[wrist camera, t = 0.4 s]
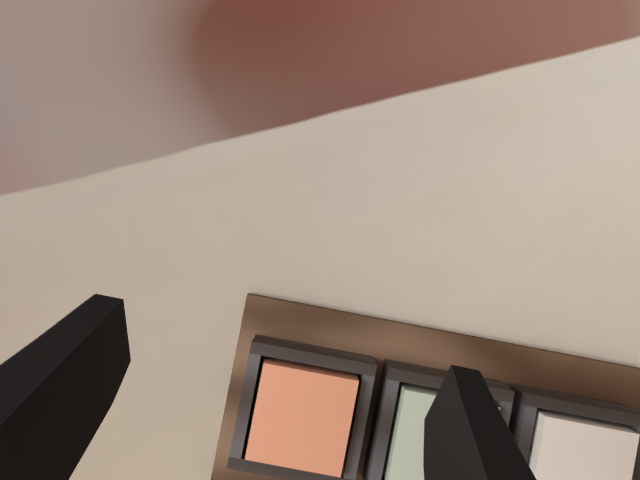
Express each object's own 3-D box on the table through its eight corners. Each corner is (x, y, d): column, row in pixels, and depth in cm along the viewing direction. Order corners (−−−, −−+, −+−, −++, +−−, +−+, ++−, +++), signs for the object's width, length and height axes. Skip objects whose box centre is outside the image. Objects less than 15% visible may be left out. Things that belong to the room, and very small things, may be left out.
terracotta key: (339, 464, 34) (340, 477, 32) (248, 447, 34) (244, 459, 32) (356, 373, 34) (359, 381, 32) (266, 356, 34) (263, 363, 32)
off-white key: (604, 513, 34) (622, 530, 32) (515, 497, 34) (528, 512, 32) (620, 423, 34) (639, 434, 32) (532, 406, 34) (545, 416, 32)
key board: (605, 551, 37) (639, 586, 33) (212, 478, 36) (201, 505, 32) (638, 367, 37) (675, 381, 33) (248, 293, 37) (241, 298, 33)
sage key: (472, 489, 34) (482, 504, 32) (382, 472, 34) (387, 486, 32) (488, 398, 34) (500, 407, 32) (399, 381, 34) (405, 389, 32)
